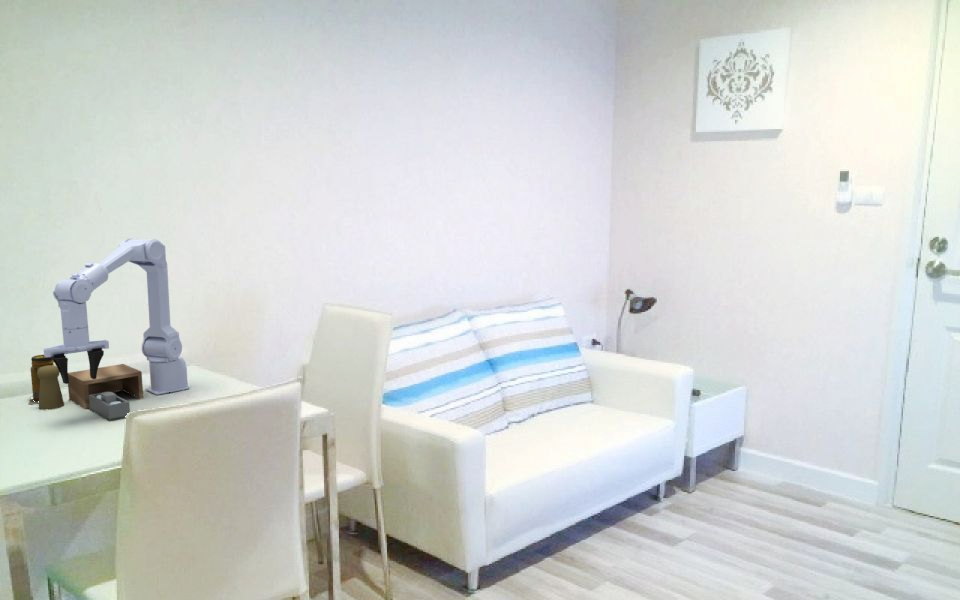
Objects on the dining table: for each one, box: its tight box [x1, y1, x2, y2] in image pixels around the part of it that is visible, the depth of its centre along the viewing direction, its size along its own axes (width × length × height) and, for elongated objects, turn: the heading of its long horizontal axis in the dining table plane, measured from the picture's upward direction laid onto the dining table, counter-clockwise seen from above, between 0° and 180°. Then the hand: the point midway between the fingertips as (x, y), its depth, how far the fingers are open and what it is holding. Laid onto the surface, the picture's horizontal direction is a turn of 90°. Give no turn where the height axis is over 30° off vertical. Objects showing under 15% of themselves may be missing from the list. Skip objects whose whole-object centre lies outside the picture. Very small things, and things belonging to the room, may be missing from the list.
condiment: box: [28, 354, 56, 405], centre depth 214 cm, size 7×8×12 cm
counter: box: [67, 363, 144, 410], centre depth 214 cm, size 15×13×8 cm
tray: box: [89, 392, 131, 422], centre depth 201 cm, size 5×14×5 cm, turn 45°
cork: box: [37, 365, 65, 410], centre depth 207 cm, size 6×6×11 cm
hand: (79, 380), depth 195 cm, fingers open, 6 cm apart
